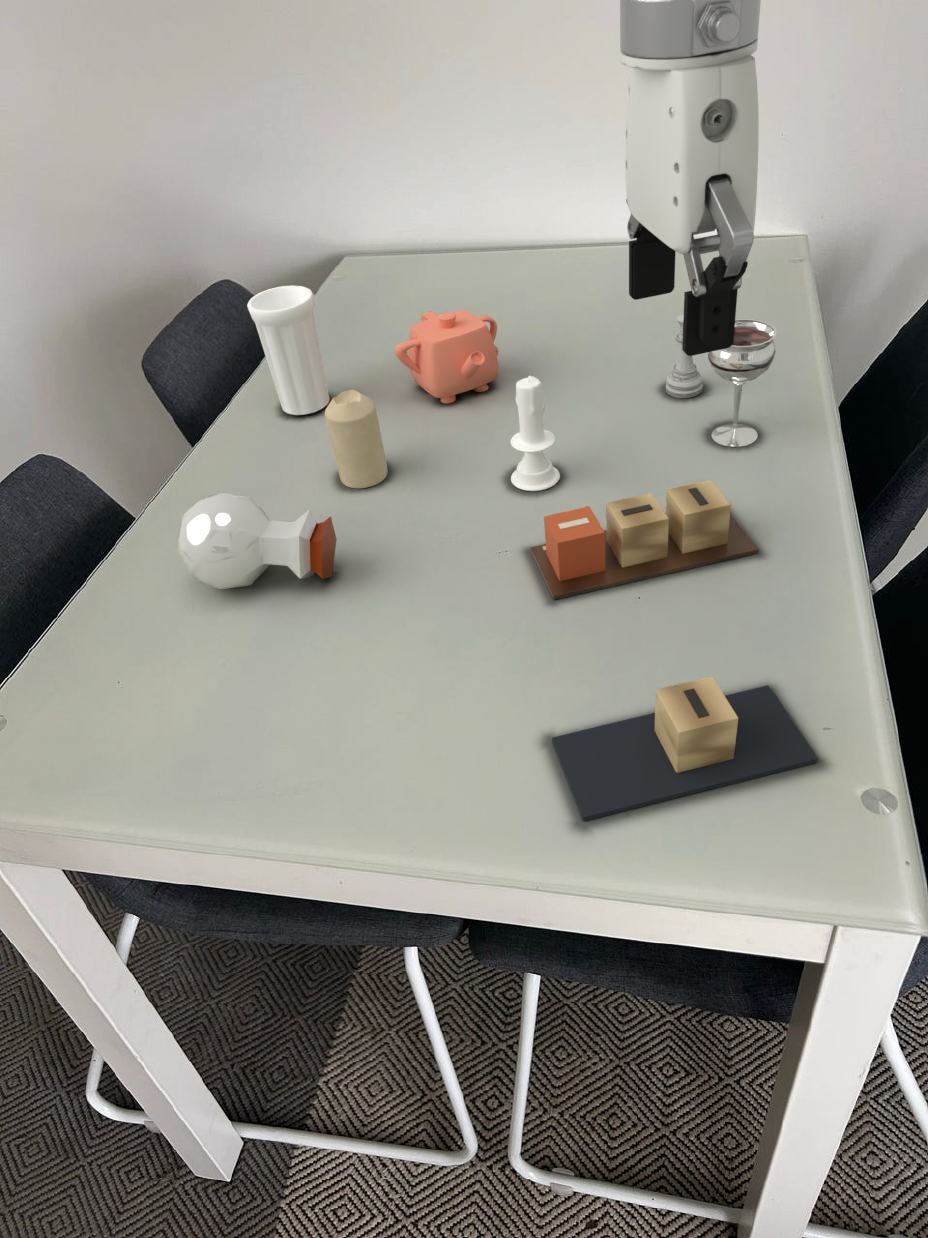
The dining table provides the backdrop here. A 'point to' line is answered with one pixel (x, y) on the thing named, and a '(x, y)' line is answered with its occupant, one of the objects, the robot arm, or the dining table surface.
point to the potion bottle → (250, 542)
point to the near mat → (642, 773)
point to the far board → (643, 564)
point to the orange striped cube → (575, 543)
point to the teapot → (451, 353)
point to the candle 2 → (532, 439)
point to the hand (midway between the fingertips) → (677, 320)
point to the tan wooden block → (697, 516)
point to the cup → (291, 347)
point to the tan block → (695, 724)
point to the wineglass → (743, 372)
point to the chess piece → (684, 373)
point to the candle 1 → (356, 439)
